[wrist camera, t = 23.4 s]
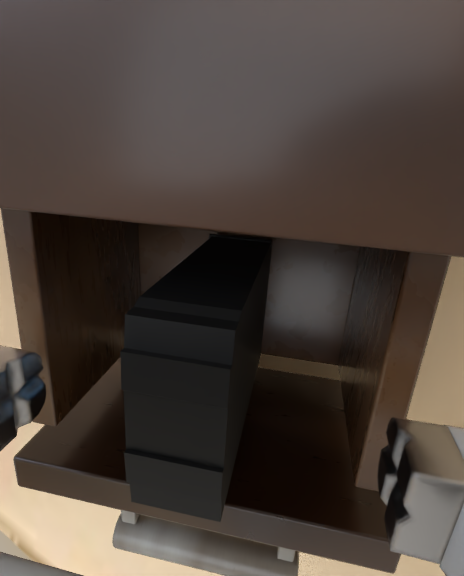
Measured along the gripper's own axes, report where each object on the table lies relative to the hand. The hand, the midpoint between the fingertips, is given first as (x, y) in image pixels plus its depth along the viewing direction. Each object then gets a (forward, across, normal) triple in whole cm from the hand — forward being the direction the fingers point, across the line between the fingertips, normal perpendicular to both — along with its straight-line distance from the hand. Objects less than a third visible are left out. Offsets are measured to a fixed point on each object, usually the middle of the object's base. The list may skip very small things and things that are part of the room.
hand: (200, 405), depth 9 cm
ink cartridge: (+7, 0, 0) cm, 7 cm away
